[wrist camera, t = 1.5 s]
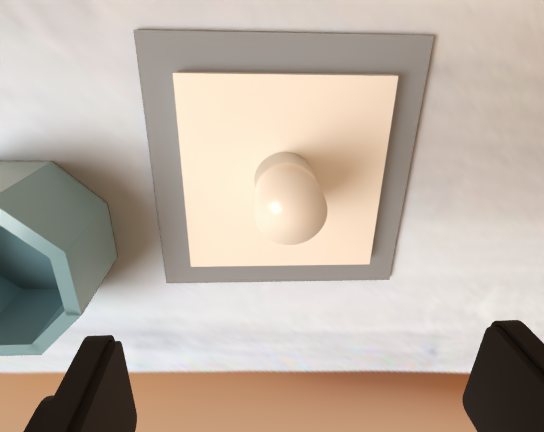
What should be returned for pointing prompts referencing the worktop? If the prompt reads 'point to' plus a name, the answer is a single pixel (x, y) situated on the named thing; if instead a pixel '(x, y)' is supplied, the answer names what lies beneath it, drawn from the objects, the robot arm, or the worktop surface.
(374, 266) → the mat
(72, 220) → the bowl
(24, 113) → the worktop surface
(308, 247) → the lid
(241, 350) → the worktop surface
